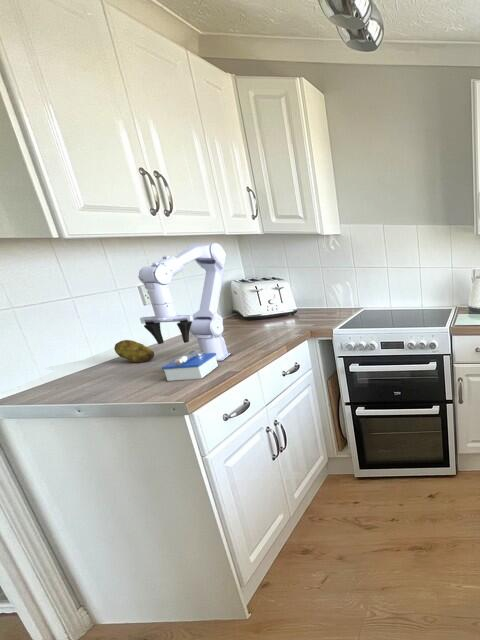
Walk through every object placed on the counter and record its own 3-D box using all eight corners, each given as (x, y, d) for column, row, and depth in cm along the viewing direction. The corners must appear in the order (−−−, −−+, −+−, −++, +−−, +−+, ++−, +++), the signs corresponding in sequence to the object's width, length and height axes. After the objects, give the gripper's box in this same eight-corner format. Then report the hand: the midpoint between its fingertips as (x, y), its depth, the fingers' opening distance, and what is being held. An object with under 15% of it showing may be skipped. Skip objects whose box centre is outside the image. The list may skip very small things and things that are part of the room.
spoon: (192, 354, 149) (190, 347, 149) (207, 353, 151) (205, 346, 150) (170, 367, 135) (168, 359, 134) (187, 366, 136) (185, 358, 135)
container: (186, 368, 150) (182, 355, 148) (219, 365, 153) (215, 352, 151) (165, 381, 137) (161, 367, 135) (202, 378, 139) (198, 364, 138)
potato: (133, 366, 153) (125, 345, 150) (115, 361, 158) (107, 341, 155) (158, 360, 160) (152, 340, 157) (141, 356, 165) (134, 336, 162)
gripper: (130, 306, 133) (142, 347, 138) (181, 304, 137) (192, 344, 141) (142, 303, 140) (154, 342, 144) (191, 301, 143) (201, 339, 148)
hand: (173, 342), depth 143 cm, fingers open, 7 cm apart
